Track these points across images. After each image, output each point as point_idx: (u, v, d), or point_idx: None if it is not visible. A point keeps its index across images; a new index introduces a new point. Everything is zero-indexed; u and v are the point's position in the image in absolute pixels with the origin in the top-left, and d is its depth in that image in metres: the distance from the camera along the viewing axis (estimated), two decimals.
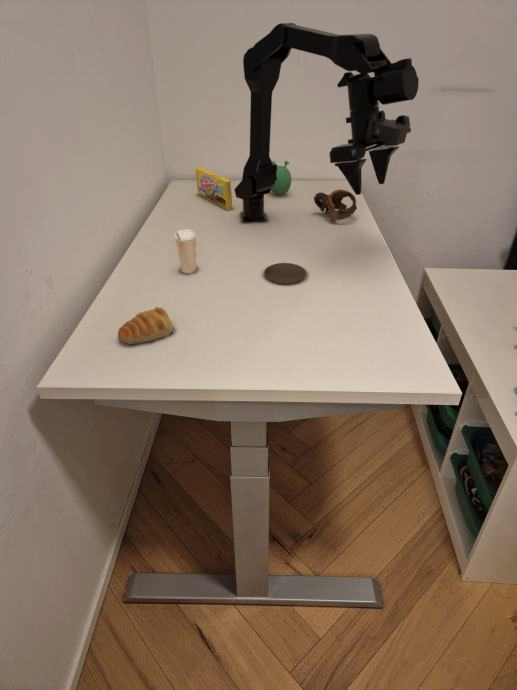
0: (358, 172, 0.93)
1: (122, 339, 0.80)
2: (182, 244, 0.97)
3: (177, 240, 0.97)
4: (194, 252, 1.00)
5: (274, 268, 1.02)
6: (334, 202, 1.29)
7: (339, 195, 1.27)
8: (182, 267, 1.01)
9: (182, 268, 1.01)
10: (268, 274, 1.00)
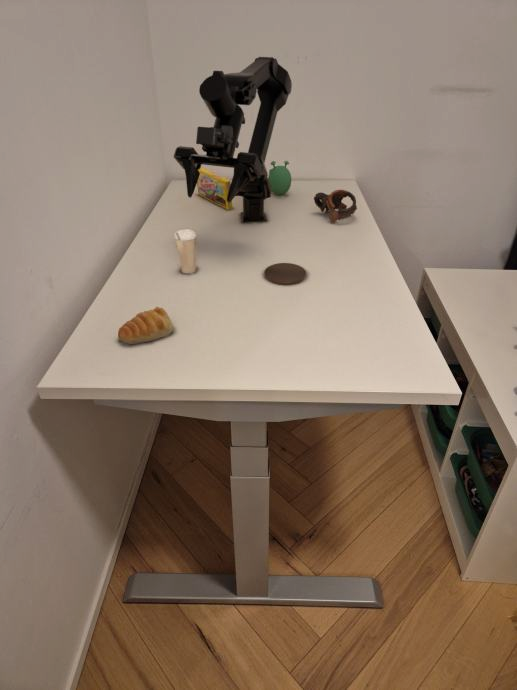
0: (186, 173, 1.00)
1: (122, 339, 0.80)
2: (182, 244, 0.97)
3: (177, 240, 0.97)
4: (194, 252, 1.00)
5: (274, 268, 1.02)
6: (334, 202, 1.29)
7: (339, 195, 1.27)
8: (182, 267, 1.01)
9: (182, 268, 1.01)
10: (268, 274, 1.00)
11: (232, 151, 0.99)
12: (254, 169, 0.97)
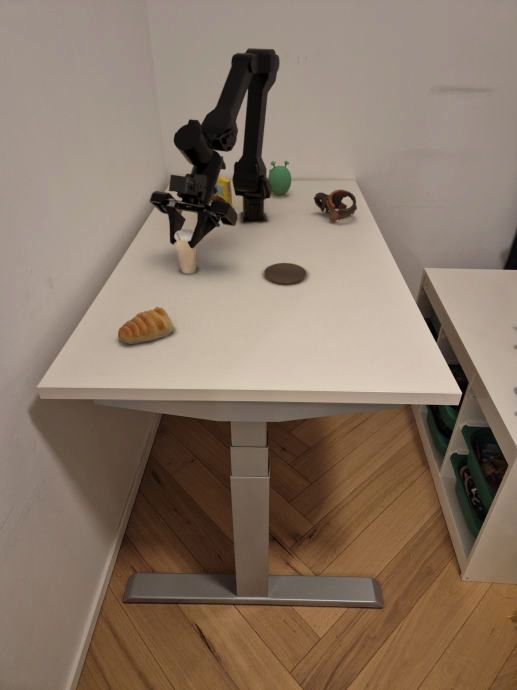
0: (170, 219, 0.98)
1: (122, 339, 0.80)
2: (182, 244, 0.97)
3: (177, 240, 0.97)
4: (194, 252, 1.00)
5: (274, 268, 1.02)
6: (334, 202, 1.29)
7: (339, 195, 1.27)
8: (182, 267, 1.01)
9: (182, 268, 1.01)
10: (268, 274, 1.00)
11: (208, 198, 0.98)
12: (227, 218, 0.95)
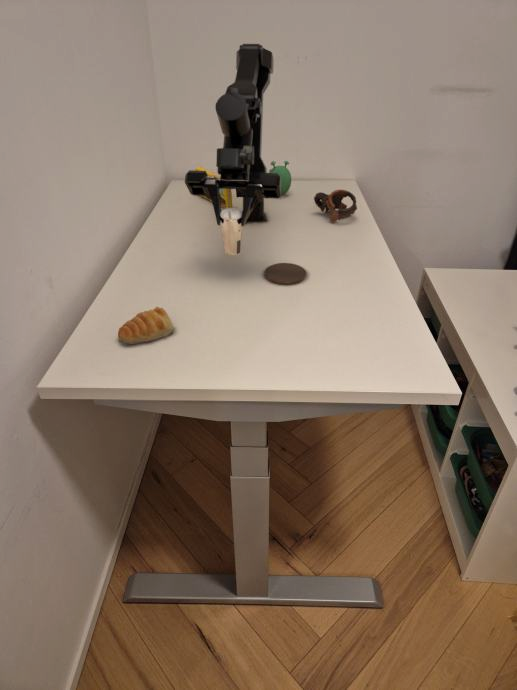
0: (212, 199, 0.92)
1: (122, 339, 0.80)
2: (232, 223, 0.92)
3: (227, 219, 0.91)
4: (241, 230, 0.95)
5: (274, 268, 1.02)
6: (334, 202, 1.29)
7: (339, 195, 1.27)
8: (229, 249, 0.95)
9: (229, 250, 0.96)
10: (268, 274, 1.00)
11: (248, 172, 0.93)
12: (277, 189, 0.92)
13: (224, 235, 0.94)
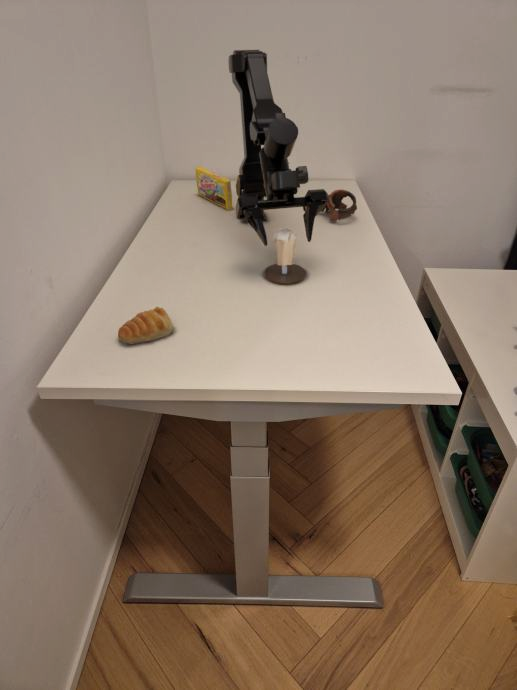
0: (257, 221, 0.94)
1: (122, 339, 0.80)
2: (290, 244, 0.96)
3: (285, 241, 0.95)
4: None
5: (274, 268, 1.02)
6: (334, 202, 1.29)
7: (339, 195, 1.27)
8: (284, 268, 0.99)
9: (284, 269, 0.99)
10: (268, 274, 1.00)
11: None
12: (324, 204, 0.97)
13: (280, 256, 0.98)
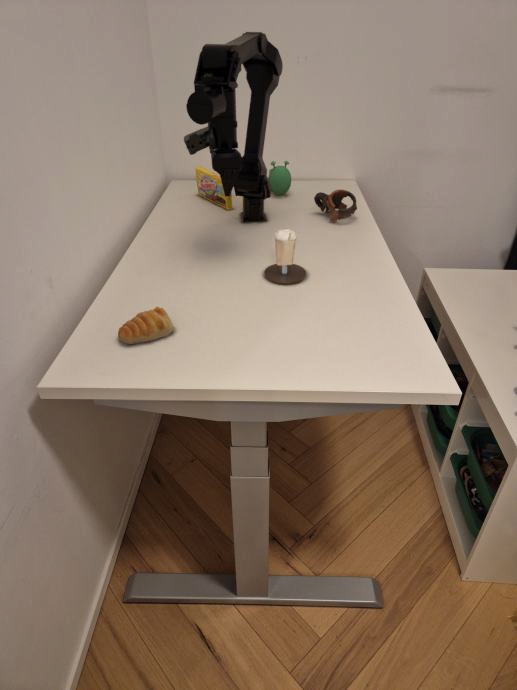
0: None
1: (122, 339, 0.80)
2: (290, 244, 0.96)
3: (285, 241, 0.95)
4: None
5: (274, 268, 1.02)
6: (334, 202, 1.29)
7: (339, 195, 1.27)
8: (284, 268, 0.99)
9: (284, 269, 0.99)
10: (268, 274, 1.00)
11: (222, 141, 0.98)
12: None
13: (280, 256, 0.98)
